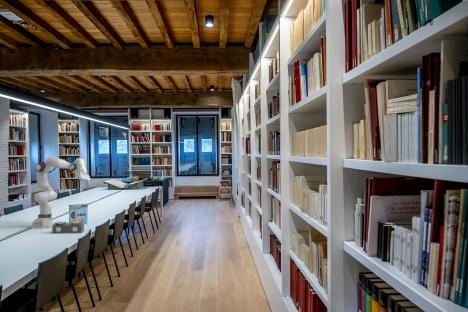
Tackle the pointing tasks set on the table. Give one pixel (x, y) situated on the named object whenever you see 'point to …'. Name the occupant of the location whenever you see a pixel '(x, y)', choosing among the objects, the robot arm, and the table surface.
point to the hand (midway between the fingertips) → (85, 184)
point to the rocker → (76, 222)
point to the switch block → (68, 228)
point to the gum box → (78, 213)
